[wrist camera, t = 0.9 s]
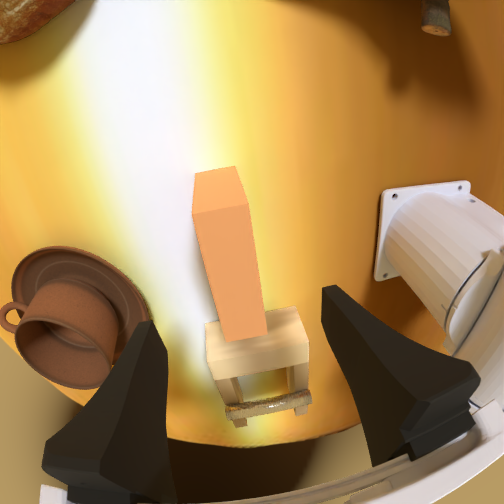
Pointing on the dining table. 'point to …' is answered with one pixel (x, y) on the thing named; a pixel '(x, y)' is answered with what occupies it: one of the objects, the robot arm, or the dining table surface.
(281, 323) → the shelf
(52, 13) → the bread roll
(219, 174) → the orange long block
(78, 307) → the cup and saucer
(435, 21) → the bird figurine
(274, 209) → the dining table surface
